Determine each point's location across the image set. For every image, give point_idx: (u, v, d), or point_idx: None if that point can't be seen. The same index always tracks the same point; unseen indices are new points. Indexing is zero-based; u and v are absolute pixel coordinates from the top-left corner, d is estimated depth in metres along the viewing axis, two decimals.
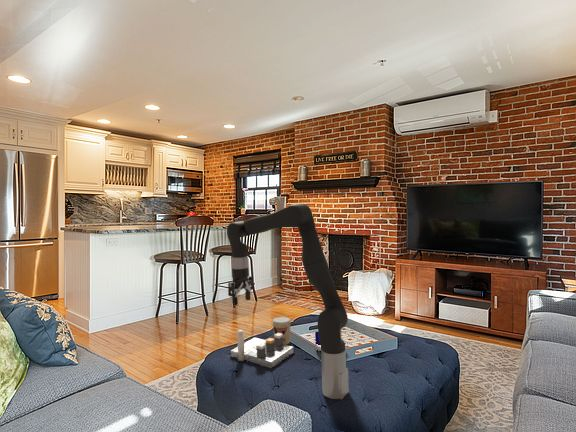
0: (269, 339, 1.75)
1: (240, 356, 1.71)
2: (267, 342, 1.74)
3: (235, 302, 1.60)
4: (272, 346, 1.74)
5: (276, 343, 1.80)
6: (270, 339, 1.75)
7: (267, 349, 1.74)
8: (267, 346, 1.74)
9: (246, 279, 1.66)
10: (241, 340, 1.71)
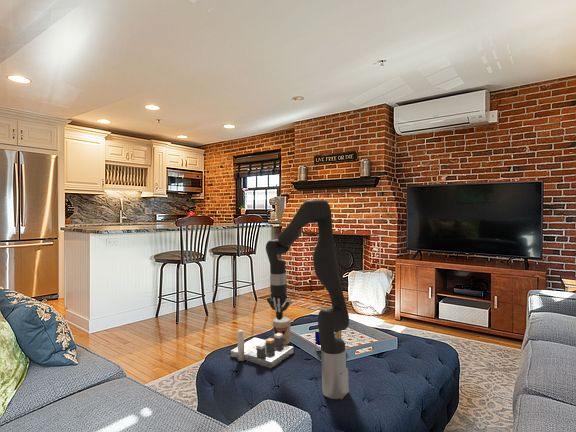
0: (269, 339, 1.75)
1: (240, 356, 1.71)
2: (267, 342, 1.74)
3: None
4: (272, 346, 1.74)
5: (276, 343, 1.80)
6: (270, 339, 1.75)
7: (267, 349, 1.74)
8: (267, 346, 1.74)
9: None
10: (241, 340, 1.71)
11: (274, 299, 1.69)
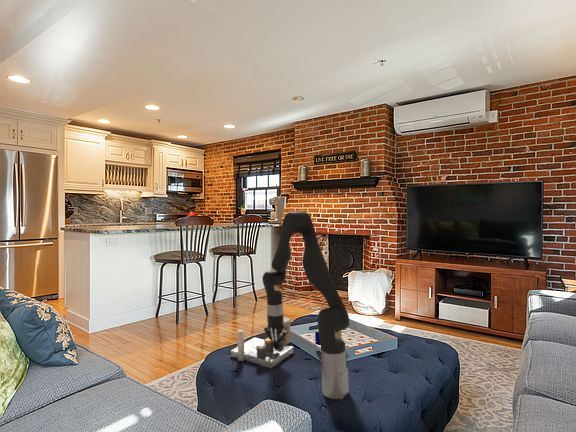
0: (268, 339, 1.75)
1: (240, 356, 1.71)
2: (266, 342, 1.74)
3: None
4: (271, 346, 1.74)
5: None
6: (269, 339, 1.75)
7: (266, 349, 1.74)
8: None
9: None
10: (241, 340, 1.71)
11: (271, 329, 1.71)
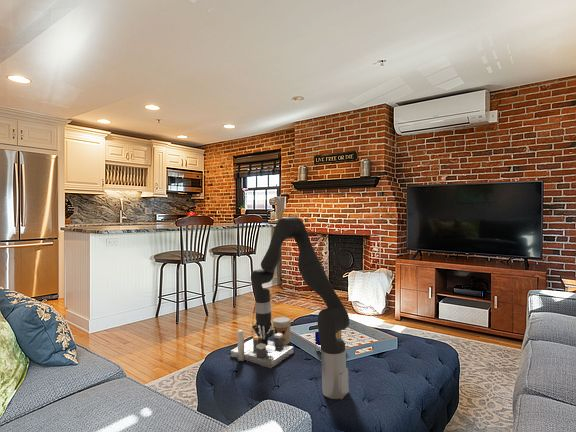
0: (256, 336, 1.79)
1: (240, 356, 1.71)
2: (254, 339, 1.78)
3: None
4: (259, 343, 1.78)
5: (276, 343, 1.80)
6: (257, 336, 1.79)
7: (254, 346, 1.78)
8: (254, 343, 1.78)
9: None
10: (241, 340, 1.71)
11: (259, 327, 1.75)
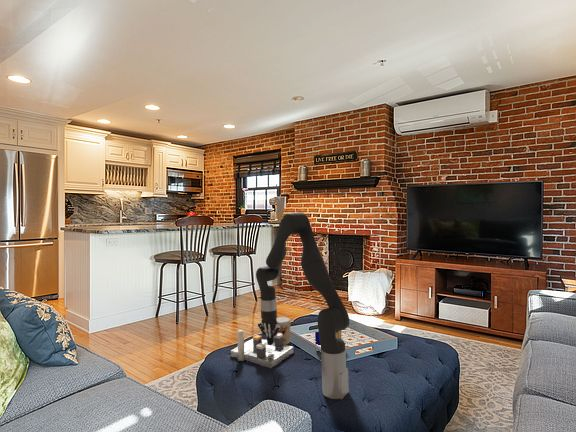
0: (256, 336, 1.79)
1: (240, 356, 1.71)
2: (254, 339, 1.78)
3: None
4: (259, 343, 1.78)
5: (276, 343, 1.80)
6: (257, 336, 1.79)
7: (254, 346, 1.78)
8: (254, 343, 1.78)
9: None
10: (241, 340, 1.71)
11: (265, 325, 1.73)
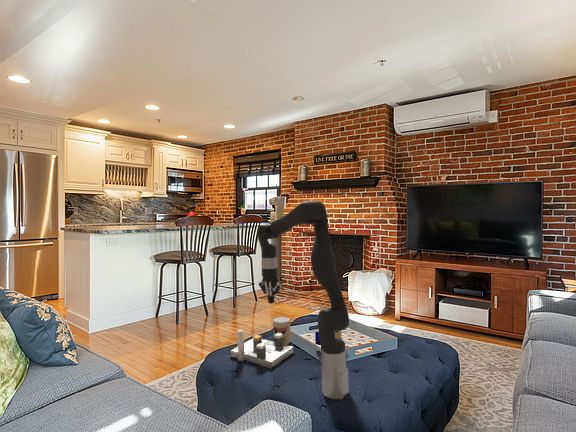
0: (256, 336, 1.79)
1: (240, 356, 1.71)
2: (254, 339, 1.78)
3: None
4: (259, 343, 1.78)
5: (276, 343, 1.80)
6: (257, 336, 1.79)
7: (254, 346, 1.78)
8: (254, 343, 1.78)
9: None
10: (241, 340, 1.71)
11: (265, 283, 1.72)
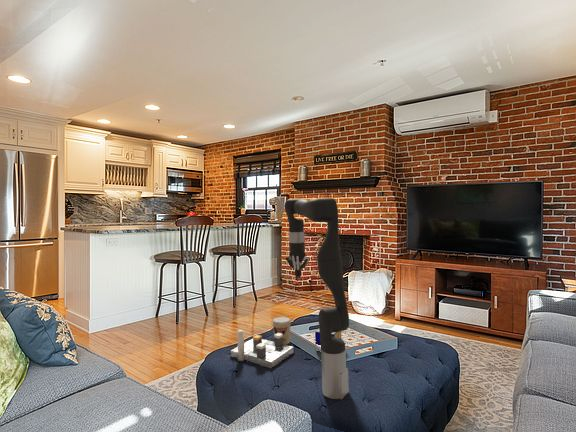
0: (256, 336, 1.79)
1: (240, 356, 1.71)
2: (254, 339, 1.78)
3: None
4: (259, 343, 1.78)
5: (276, 343, 1.80)
6: (257, 336, 1.79)
7: (254, 346, 1.78)
8: (254, 343, 1.78)
9: None
10: (241, 340, 1.71)
11: (293, 257, 1.75)
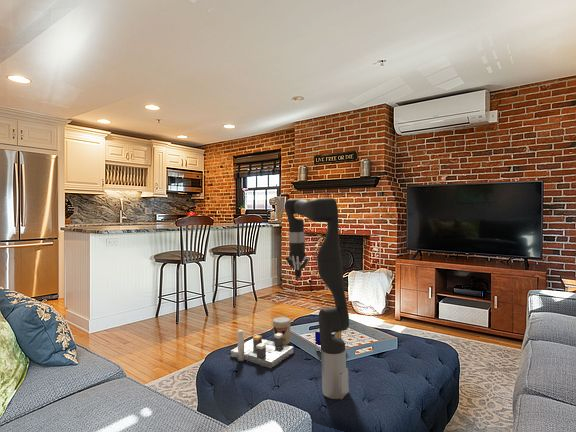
0: (256, 336, 1.79)
1: (240, 356, 1.71)
2: (254, 339, 1.78)
3: None
4: (259, 343, 1.78)
5: (276, 343, 1.80)
6: (257, 336, 1.79)
7: (254, 346, 1.78)
8: (254, 343, 1.78)
9: None
10: (241, 340, 1.71)
11: (293, 257, 1.75)
